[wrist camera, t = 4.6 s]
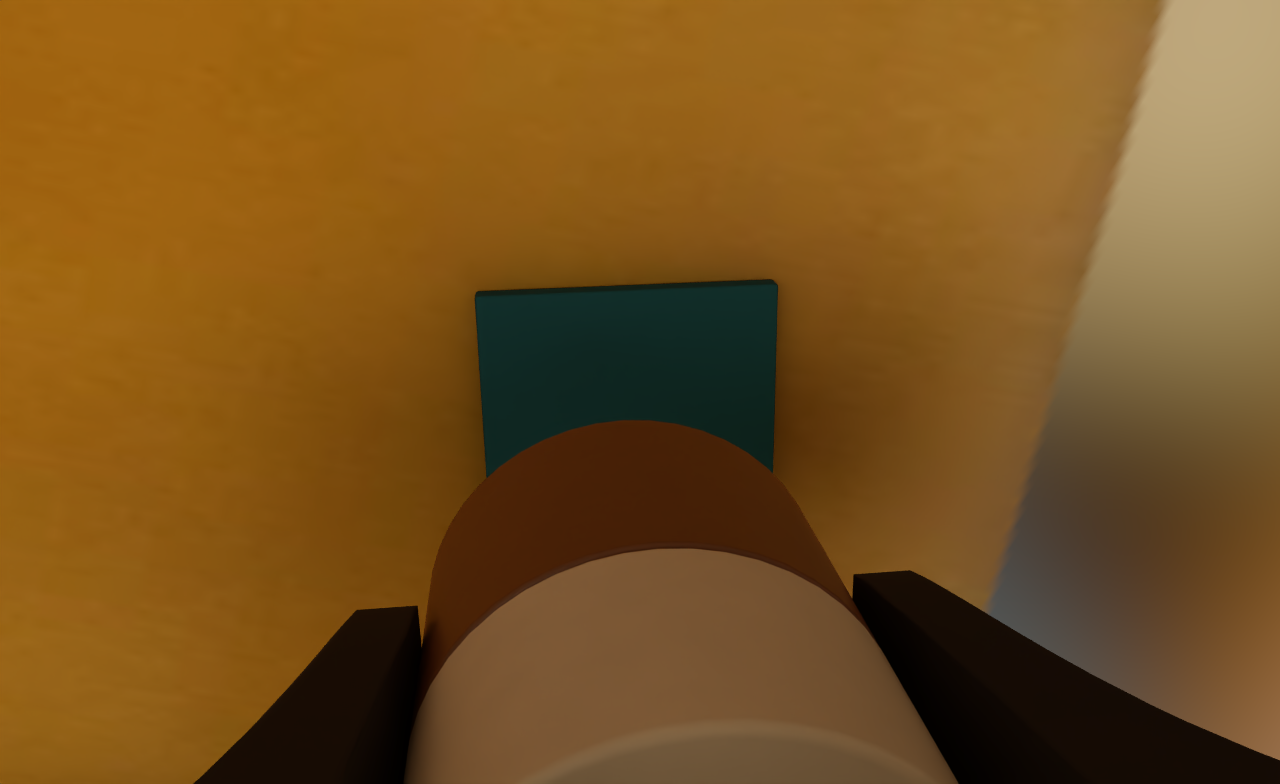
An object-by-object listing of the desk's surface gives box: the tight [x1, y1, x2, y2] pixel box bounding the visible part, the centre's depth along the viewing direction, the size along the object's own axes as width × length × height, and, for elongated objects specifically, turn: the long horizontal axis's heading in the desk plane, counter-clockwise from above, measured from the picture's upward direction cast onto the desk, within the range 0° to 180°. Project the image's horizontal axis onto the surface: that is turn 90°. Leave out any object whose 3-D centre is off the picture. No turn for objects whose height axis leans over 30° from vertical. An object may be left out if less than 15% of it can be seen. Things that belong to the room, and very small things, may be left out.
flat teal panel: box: [475, 280, 778, 478], centre depth 19 cm, size 6×5×1 cm
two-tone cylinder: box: [403, 420, 959, 784], centre depth 10 cm, size 4×4×6 cm
